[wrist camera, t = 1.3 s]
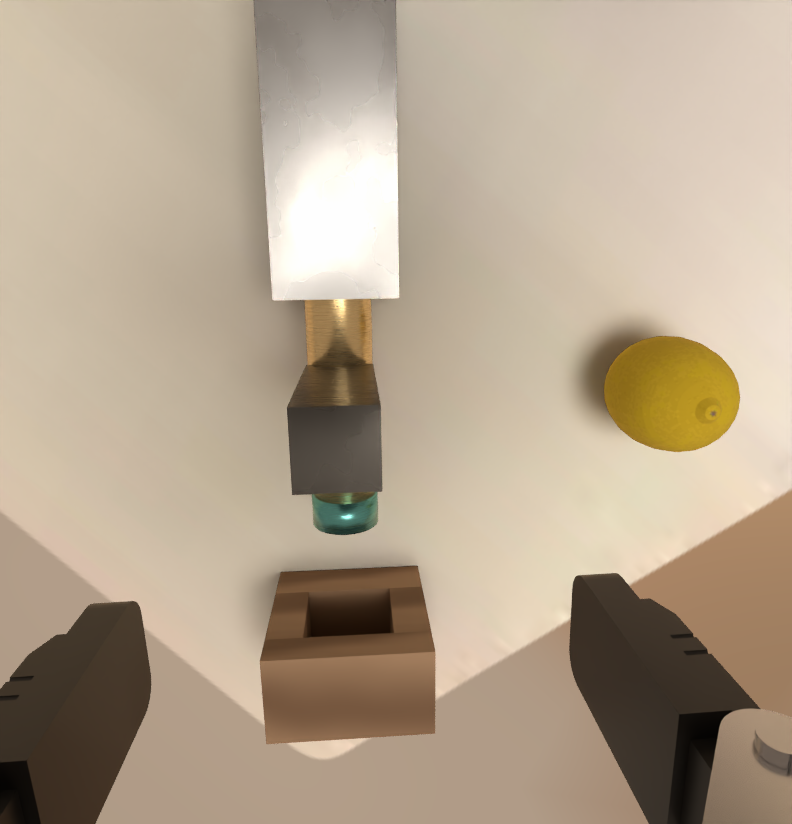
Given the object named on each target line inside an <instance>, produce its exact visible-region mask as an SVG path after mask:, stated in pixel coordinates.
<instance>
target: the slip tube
mask: <svg viewBox="0 0 792 824" xmlns="http://www.w3.org/2000/svg"><path fill="white" fill-rule="evenodd" d="M304 301H305V321H306V341H307V361H308V365H306V367H305V369H304V371H303V374H302V376H301V378H300V380H299V382H298V385H297V387H296V389H295V391H294V393H293V396H292V398H291V400H290V402H289V404H288V407H287V415H288V432H289V448H290V465H291V482H292V495H302V494H312V504H313V523H314V526H315V527H316V528H317V529H318V530H320V531H322V532H325V533H329V534H335V535H349V534H356V533H361V532H364V531H367V530H369V529H371V528H372V527H374V526H375V525H376V524H377V522H378V498H377V492H382V457H381V406H380V400H379V394H378V389H377V383H376V378H375V372H374V367H373V364H372V322H371V299H326V300H304Z"/></svg>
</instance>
